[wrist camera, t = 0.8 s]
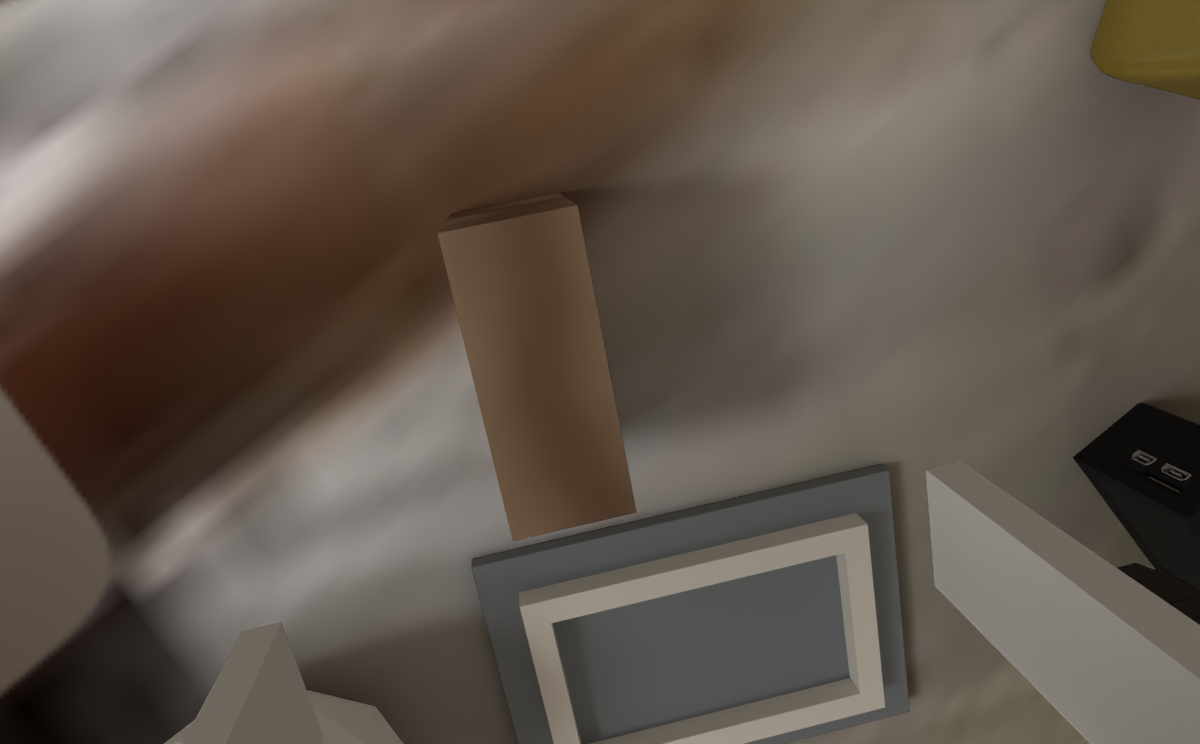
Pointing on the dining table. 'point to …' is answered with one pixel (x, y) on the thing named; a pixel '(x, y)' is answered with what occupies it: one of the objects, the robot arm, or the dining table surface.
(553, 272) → the walnut block
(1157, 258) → the dining table surface
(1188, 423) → the digital camera
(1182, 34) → the flower pot
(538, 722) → the grey flat frame
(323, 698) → the geodesic sphere
